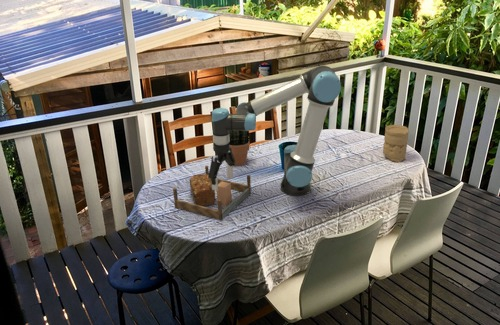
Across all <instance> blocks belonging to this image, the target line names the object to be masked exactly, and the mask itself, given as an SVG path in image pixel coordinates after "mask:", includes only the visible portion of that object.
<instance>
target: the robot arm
mask: <svg viewBox="0 0 500 325" xmlns="http://www.w3.org/2000/svg"><path fill="white" fill-rule="evenodd" d="M341 85H342V84H341V80H340V78H339V76H338V75H337V74H336V72H335V71H334V70H333V68H331V67H329V66H327V65H319V66H315V67H314V68H311V69H309V70H308V71H306V72H304V73H302V74H300V76H299V77H298V78H296V79H294V80H291V81H289V82H288V83H286V84H283V85H281V86H278V87H276V88H275V89H272V90H271V91H269V92H266V93H264V94H262V95H260V96H258V97H256V98H254V99H251V100H250V101H248V102H246V101H245V102H240V103H239V104H238V105H237V106H236V110H235V113H230V111H229V109H227V108H226V107H225V108H224V107H218V108H217V107H216V108H215V109H213V110H212V112H211V127H212V142H213V144H212V146H213V147H212V149H213V152H214V153H215V155H214V156H211V157H210V158H211V161H210V166H209V175H208V178H211V180H212V190H215V192H217V191H218V179H219V178H218V177H217V176H218V175H219V174H218V173H219V171H220V167H221V166H222V165H223V162H224V161H225V163H226V164H227V165H226V177H227V179H231V180H233V179H234V173H233V172H234V168H233V167H235V166H236V165H235V164H234V163H235V159H234V156H233V154H232V149H231V148H230V143H229V142H230V137H229V130H231V131H233V130H235V131H249V132H250V131H255V130H256V128H257V127H256V125H257V123H256V122H257V120H256V119H257V116H259V115H262V114H263V113H265V112H268V111H270V110H273V109H274V108H277V107H279V106H281V105H282V104H285V103H287V102H290V101H292V100H294V99H296V98H299V97H300V96H303V95H304V94H307V97H306V99H307V100H308V102H309V103H308V106H307V110H306V113H305V116H304V119H303V123H302V125H301V129H300V133H299V136H298V140H297V142H296V144H292V145H291V144H290V145H287V146H286V147H285V148H284V151H283V153H284V156H283V157H284V158H283V159H284V160H283V161H284V162H283V164H284V165H283V166H284V167H283V168H284V169H283V170H284V171H283V173H284V174H283V177H282V179H281V181H280V182H281V183H280V191H281V192H283V194H285V195H288V196H293V197H294V196H296V197H298V196H304V195H307V194H309V192H310V191H311V181H312V179H313V169H314V165H315V162H316V159H315V157H314V155H315V151H316V148H317V145H318V142H319V139H320V136H321V133H322V129H323V126H324V123H325V121H326V117H327V114H328V111H329V108H331V107H333V106H334V103H335V101H336V99H337V98H338V97H339V95H340V94H341V90H342V86H341ZM217 178H218V179H217Z"/></svg>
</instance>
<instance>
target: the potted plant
mask: <svg viewBox="0 0 500 325" xmlns="http://www.w3.org/2000/svg"><path fill="white" fill-rule="evenodd" d="M229 137H230V142H229V143H230V148H231V149H232V154H233V156H234V159H235V163H234V164H235V166H236V167H237V166H239V167H240V166H243V165H245V164H246V163H247V158H248V153H249V150H250V131H235V130H233V131H231V130H229Z"/></svg>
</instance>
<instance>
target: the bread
mask: <svg viewBox="0 0 500 325" xmlns="http://www.w3.org/2000/svg"><path fill="white" fill-rule="evenodd" d="M189 186H190V192H191V195H192V199H193V203H194V204H196V205H200V206H203V207H206V206H207V207H208V206H213V205H214V204H215V203H216V191H215V190H212V181H211V179H210V178H208V174H206V173H199V174H194V175H193V176H191V177H190V178H189Z"/></svg>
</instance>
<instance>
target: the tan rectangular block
mask: <svg viewBox="0 0 500 325" xmlns="http://www.w3.org/2000/svg"><path fill="white" fill-rule="evenodd" d="M232 197H233V196H232V190H231V183H227V182H223V181H222V182H220V183H219V184H218V191H216V199H217V200H216V201H217V204H218V200H219V199H220V200H221V201H222V207H227V206H228V205H229V204H230V203H231V202H233V199H232Z"/></svg>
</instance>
